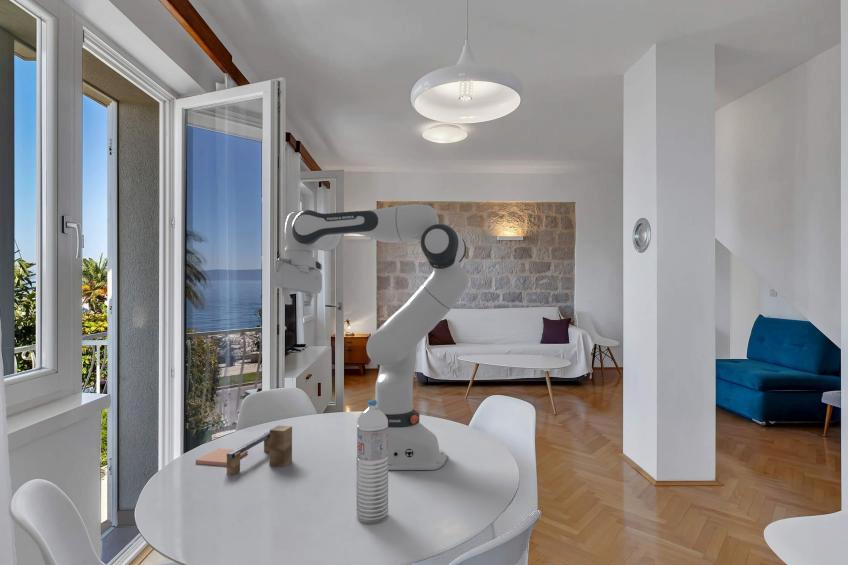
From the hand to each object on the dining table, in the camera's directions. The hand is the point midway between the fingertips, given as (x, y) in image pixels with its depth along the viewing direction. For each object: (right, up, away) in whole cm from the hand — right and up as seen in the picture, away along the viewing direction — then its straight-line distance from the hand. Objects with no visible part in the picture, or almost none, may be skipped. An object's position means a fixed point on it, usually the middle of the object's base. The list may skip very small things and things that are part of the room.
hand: (298, 305), depth 140 cm
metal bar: (-11, -41, -10) cm, 43 cm away
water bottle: (+28, -44, -44) cm, 68 cm away
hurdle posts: (-11, -45, -10) cm, 47 cm away
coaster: (-20, -45, -8) cm, 50 cm away
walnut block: (-2, -45, -12) cm, 46 cm away
